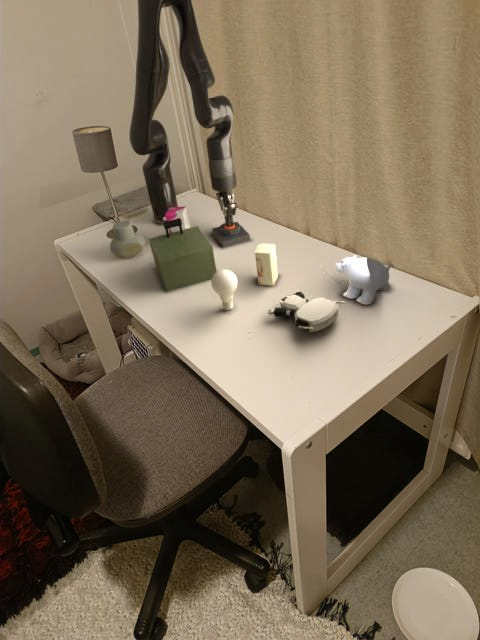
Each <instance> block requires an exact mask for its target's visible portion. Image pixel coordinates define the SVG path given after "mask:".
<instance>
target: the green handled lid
mask: <svg viewBox="0 0 480 640" xmlns="http://www.w3.org/2000/svg"><path fill="white" fill-rule="evenodd" d="M162 225H163V228H164V231H165V233H164V234H161V235H158V236H153V237H150V238H148V242H149V245H150V244H151V246H152V248H153V250H154V252H155V255H156V257H157V259H158V261H159V263H162V262H166V261H170V260H173V259H177V258H181V257H184V256H188V255H192V254H195V253H199V252H202V251H206V250H210V249H213V250H214V248H213V245H212V243H211V242H210V241H209V240H208V238H207V237H206V235H205V234H204V233H203V231H201V229H200V228H199V226H198V225H196V226H193V227H190V228H188V229H184V230H182V221H181V219H180V218H178V219H174V220H170V221H167V222H163V224H162ZM177 226H179V229H180V231H177V232H173V233H169V228H173V227H177ZM151 246H150V247H151Z"/></svg>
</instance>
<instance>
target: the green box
mask: <svg viewBox="0 0 480 640" xmlns="http://www.w3.org/2000/svg"><path fill="white" fill-rule="evenodd" d="M149 245H150V250H151V253H152V257H153V261H154V264H155V268H156V271H157V273H158V275H159V278H160V280H161V282H162V285H163V286H164V288H165V290H166V292H170V291H174V290H177V289H181V288H184V287H188V286H191V285H194V284H198V283H201V282H205V281H207V280H212V277H213V275H214V274H215V273H216V272H217V271H218V270H217V266H216V265H217V264H216V259H215V253H214V248H213V249H210V250H206V251H202V252H199V253H195V254H192V255H188V256H184V257H181V258H177V259H173V260H170V261H166V262H162V263H159V261H158V259H157V257H156V255H155V252H154V250H153V248H152V246H151V244H150V243H149Z"/></svg>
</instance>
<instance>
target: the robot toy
mask: <svg viewBox="0 0 480 640" xmlns="http://www.w3.org/2000/svg"><path fill="white" fill-rule="evenodd" d="M279 304H280V307H275V308H269V309H268V310H267V314H268V315H269V316H271V315H274V317H275V318H276V317H277V318H282V317H284V316H288V317H293V318H294V322H295V323H294V324H295V325H296V327H297V328H298V329H300V330H303V331H307V332H310V333H312V332H319V331H321V330H323V329H325V328H327V327H328V326H330V325H331V324H333V323H334V322H335V321H336V319H338V316H339V304H342V305H344V304H346V302H345V301H337V300H336V301H335V300H333V299H329V298H326V297H322V296H321V297H315V298H313V299H311V300H309V299H308V298H306V297H305V294H304V293H303V292H302V291H301V290H296V291H293V292H292V295H286V296H284V297H282V298H281V299H280V300H279Z"/></svg>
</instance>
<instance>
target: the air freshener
mask: <svg viewBox="0 0 480 640" xmlns="http://www.w3.org/2000/svg"><path fill="white" fill-rule="evenodd" d="M112 232H113V234H114V237H113V239H112V240H111V241H110V244H109V249H110V251H111V253H112V254H114V255H115V256H116V257H119V258H132V257H135V256H137V255H138V254H139V253H141V252H142V251H143V249H144V248H145V245H146V241H145V238H144V237H143V236H142V235H141V234H139V233H137V232H135V231H134V228H133V224H132V222H131V221H129V220H120V221H117V222H115V223H114V224H113V225H112Z"/></svg>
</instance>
